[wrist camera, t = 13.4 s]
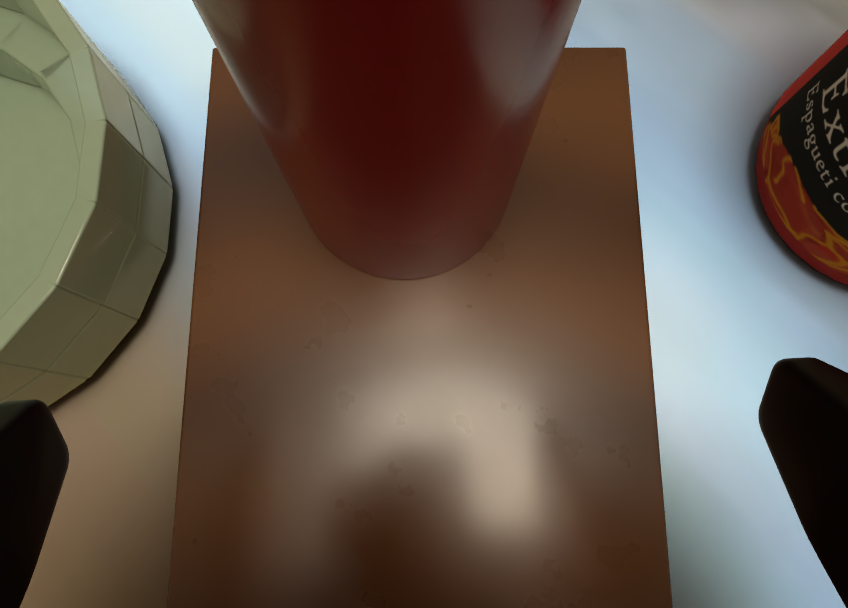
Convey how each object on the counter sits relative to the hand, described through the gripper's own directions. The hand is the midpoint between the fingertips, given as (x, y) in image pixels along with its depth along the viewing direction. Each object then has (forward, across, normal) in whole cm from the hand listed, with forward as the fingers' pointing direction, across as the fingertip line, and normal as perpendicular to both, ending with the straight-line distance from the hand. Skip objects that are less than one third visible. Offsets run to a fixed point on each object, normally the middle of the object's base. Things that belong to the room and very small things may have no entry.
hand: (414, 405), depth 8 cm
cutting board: (+7, 0, +6) cm, 9 cm away
